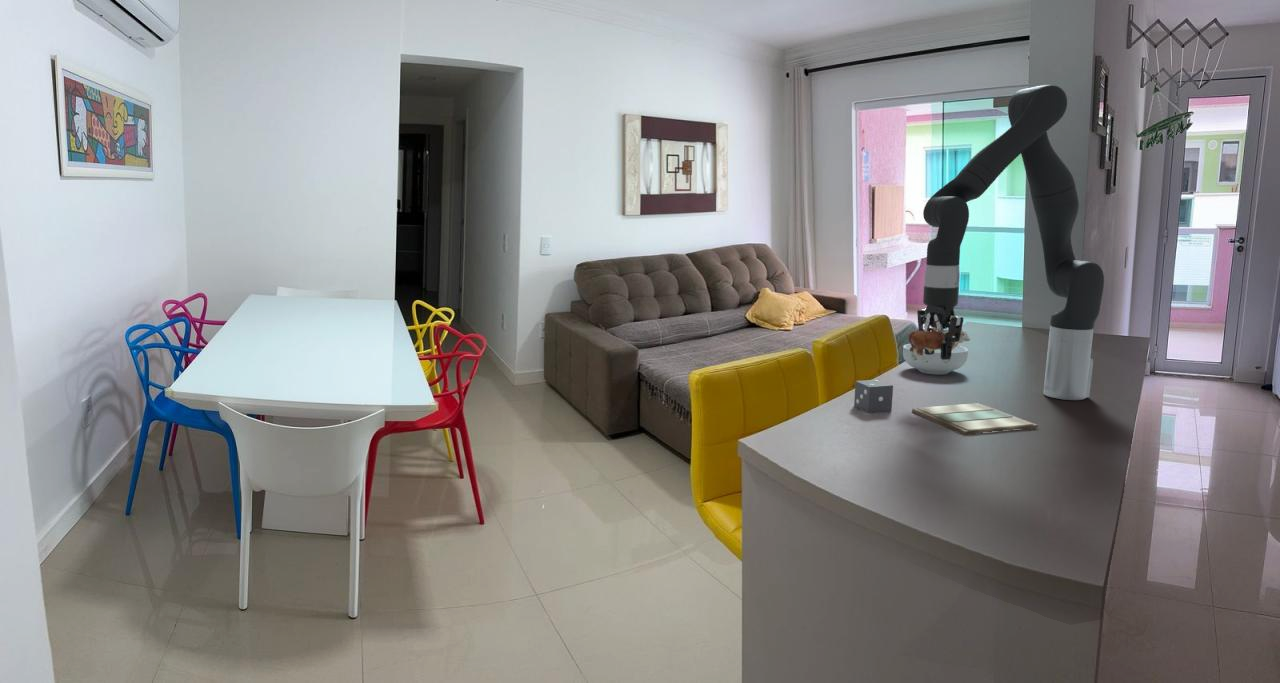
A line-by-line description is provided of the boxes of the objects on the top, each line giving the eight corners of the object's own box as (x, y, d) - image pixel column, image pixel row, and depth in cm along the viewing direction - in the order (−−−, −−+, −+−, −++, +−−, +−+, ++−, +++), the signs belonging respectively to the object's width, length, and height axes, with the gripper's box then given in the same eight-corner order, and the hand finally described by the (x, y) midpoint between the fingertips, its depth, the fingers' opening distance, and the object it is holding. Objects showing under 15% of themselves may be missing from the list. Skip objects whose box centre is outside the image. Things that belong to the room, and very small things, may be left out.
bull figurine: (969, 364, 177) (972, 329, 175) (908, 362, 180) (910, 328, 178) (965, 360, 181) (968, 325, 180) (905, 358, 184) (907, 324, 182)
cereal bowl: (964, 367, 221) (966, 343, 220) (968, 380, 206) (970, 354, 205) (901, 363, 227) (903, 340, 226) (901, 375, 212) (902, 350, 210)
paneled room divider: (979, 406, 180) (979, 402, 180) (1037, 428, 163) (1038, 424, 163) (912, 412, 175) (912, 407, 175) (964, 435, 158) (965, 430, 158)
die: (876, 404, 182) (878, 379, 181) (891, 411, 176) (893, 385, 175) (853, 406, 180) (855, 380, 179) (868, 412, 174) (869, 386, 173)
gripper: (976, 287, 171) (971, 361, 174) (935, 280, 185) (931, 350, 188) (947, 288, 169) (942, 364, 173) (908, 282, 183) (904, 352, 186)
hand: (937, 356), depth 180 cm, fingers closed on bull figurine, 5 cm apart
